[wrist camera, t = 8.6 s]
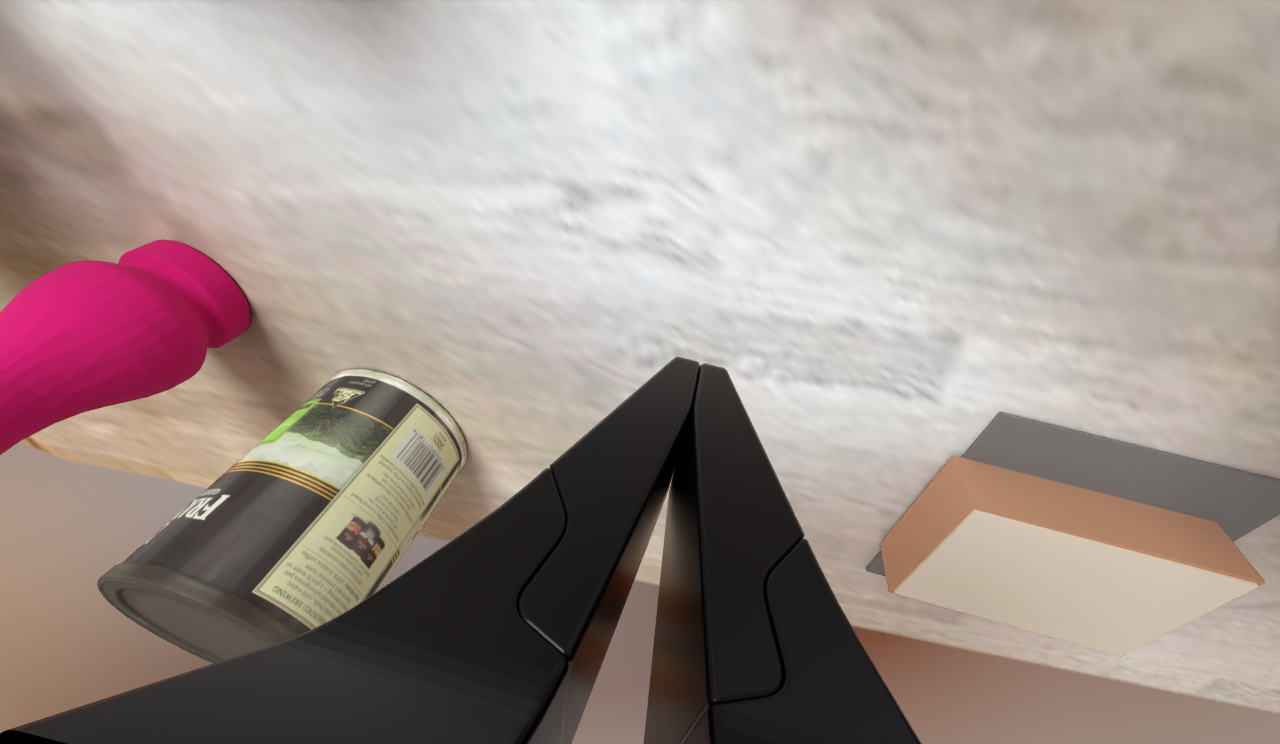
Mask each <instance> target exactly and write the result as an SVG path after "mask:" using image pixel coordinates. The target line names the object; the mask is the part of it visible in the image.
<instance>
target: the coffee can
mask: <svg viewBox="0 0 1280 744" xmlns="http://www.w3.org/2000/svg"><path fill="white" fill-rule="evenodd" d="M466 458H467V447H466V443H465V438H464V437H463V435H462V433H461V431H460V429H459V427H458V426H457V424H456V423H455V421H454V420H453V418H452V417H451V416H450V415H449V414H448V413H447V411H445V410H444V409H443V408H442V407H441V406H440V405H439V404H438V403H437V402H436V401H435V400H433V399H432V398H431V397H430V396H429V395H428V394H426V393H424V392H422V391H421V390H419V389H418V388H416V387H415V386H413V385H412V384H410V383H408V382H406V381H404V380H402V379H399V378H397V377H395V376H392V375H389V374H386V373H383V372H379V371H374V370H369V369H350V370H345V371H342V372H340V373H338V374H336V375H334V376H333V377H332V378H331V379H329V380H328V382H327V383H326V385H325V386H323V387H322V388H321V389H320V390H319V391H318V392H317V393H316V394H314V395H313V396H312V397H311V398H310V399H309V400H308V401H307V402H305V403H304V404H303V405H302V406H301V407H300V408H299V409H298V410H296V411H295V412H294V413H293V414H292V415H291V416H290V417H289V418H287V419H286V420H285V421H284V422H283V423H282V424H281V425H279V426H278V427H277V428H276V429H275V430H274V431H273V432H271V433H270V434H269V435H268V436H267V437H266V438H265V439H264V440H262V441H261V442H260V443H259V444H258V445H257V446H256V447H254V448H253V449H252V450H251V451H250V452H249V453H248V454H246V455H245V456H244V457H243V458H242V459H241V460H240V461H238V462H237V463H236V464H234V465H233V466H232V467H231V468H230V469H229V470H228V471H227V472H225V473H224V474H223V475H222V476H221V477H220V478H219V479H217V480H216V481H215V482H214V483H213V484H212V485H211V486H210V487H209V488H208V489H206V490H205V491H204V492H203V493H202V494H201V495H199V496H198V497H197V498H196V499H195V500H194V501H192V502H191V503H190V504H189V505H188V506H187V507H186V508H185V509H184V510H182V511H181V512H180V513H179V514H178V515H177V516H176V517H175V518H173V519H172V520H171V521H170V522H169V523H168V524H166V525H165V526H164V527H162V528H161V529H160V530H159V531H158V532H157V533H156V534H155V535H154V536H153V537H152V538H151V539H149V540H148V541H147V542H146V543H145V544H144V545H142V546H141V547H140V548H138V549H137V550H136V551H135V552H134V553H133V554H132V555H130V556H129V557H128V558H127V559H126V560H125V561H124V562H123V563H121V564H118V565H116V566H114V567H113V568H112V569H110V570H109V571H108V572H107V573H105V574H104V575H103V576H102V577H100V579H99V580H98V583H97V585H98V588H99V590H100V592H101V593H102V594H103V596H104V597H105V598H106V599H107V601H108V602H109V603H110V604H111V605H113V606H114V607H115V608H116V609H118V610H119V611H120V612H121V613H123V614H124V615H125V616H127V617H128V618H130V619H131V620H133V621H135V622H136V623H137V624H139V625H141V626H142V627H144V628H146V629H147V630H149V631H150V632H152V633H154V634H155V635H157V636H159V637H161V638H163V639H165V640H166V641H168V642H170V643H172V644H174V645H176V646H178V647H180V648H182V649H183V650H185V651H187V652H189V653H191V654H194V655H196V656H198V657H200V658H202V659H205V660H207V661H209V662H211V663H213V664H214V663H217V662H220V661H223V660H227V659H230V658H233V657H236V656H239V655H242V654H245V653H248V652H251V651H254V650H258V649H261V648H264V647H267V646H270V645H273V644H276V643H279V642H282V641H285V640H288V639H290V638H293V637H295V636H298V635H300V634H302V633H305V632H307V631H309V630H312V629H314V628H316V627H318V626H320V625H322V624H324V623H326V622H328V621H330V620H332V619H334V618H335V617H337V616H339V615H341V614H343V613H344V612H346V611H348V610H350V609H351V608H353V607H355V606H356V605H358V604H359V603H361V602H362V601H364V600H365V599H367V598H368V597H370V596H371V595H373V594H374V593H376V592H377V591H379V590H380V589H381V588H382V586H383V585H384V583H385V582H386V580H387V579H388V577H389V576H390V574H391V573H392V571H393V570H394V568H395V566H396V565H397V564H398V562H399V561H400V559H401V558H402V556H403V555H404V553H405V551H406V550H407V548H408V547H409V546H410V544H411V542H412V541H413V539H414V538H415V536H416V535H417V533H418V532H419V530H420V529H421V527H422V526H423V524H424V523H425V521H426V520H427V518H428V517H429V515H430V514H431V512H432V511H433V509H434V507H435V506H436V504H437V503H438V501H439V500H440V498H441V497H442V495H443V494H444V492H445V491H446V489H447V488H448V486H449V485H450V483H451V482H452V480H453V479H454V477H455V476H456V475H457V473H458V472H459V471H460V470H461V469H462V468H463V466H464V464H465V462H466Z"/></svg>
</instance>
